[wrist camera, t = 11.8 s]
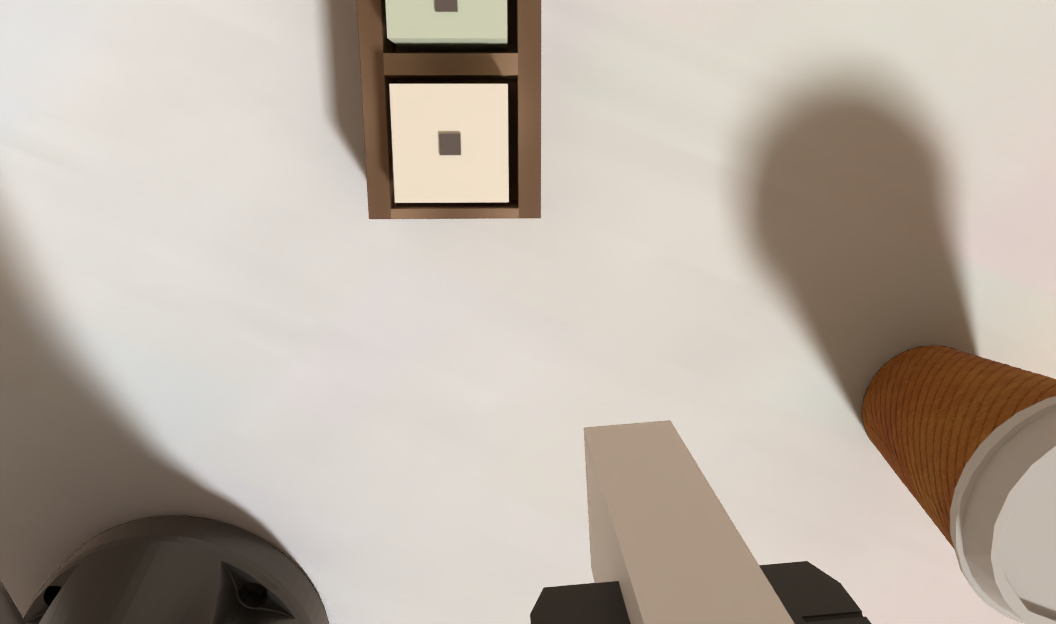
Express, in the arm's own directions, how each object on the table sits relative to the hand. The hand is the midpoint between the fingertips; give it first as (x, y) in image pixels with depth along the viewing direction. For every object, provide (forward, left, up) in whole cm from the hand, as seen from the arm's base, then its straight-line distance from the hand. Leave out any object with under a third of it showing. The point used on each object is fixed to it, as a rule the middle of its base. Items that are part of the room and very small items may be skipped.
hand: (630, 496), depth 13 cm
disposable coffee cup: (+19, -7, -23) cm, 30 cm away
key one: (-4, +6, -22) cm, 23 cm away
